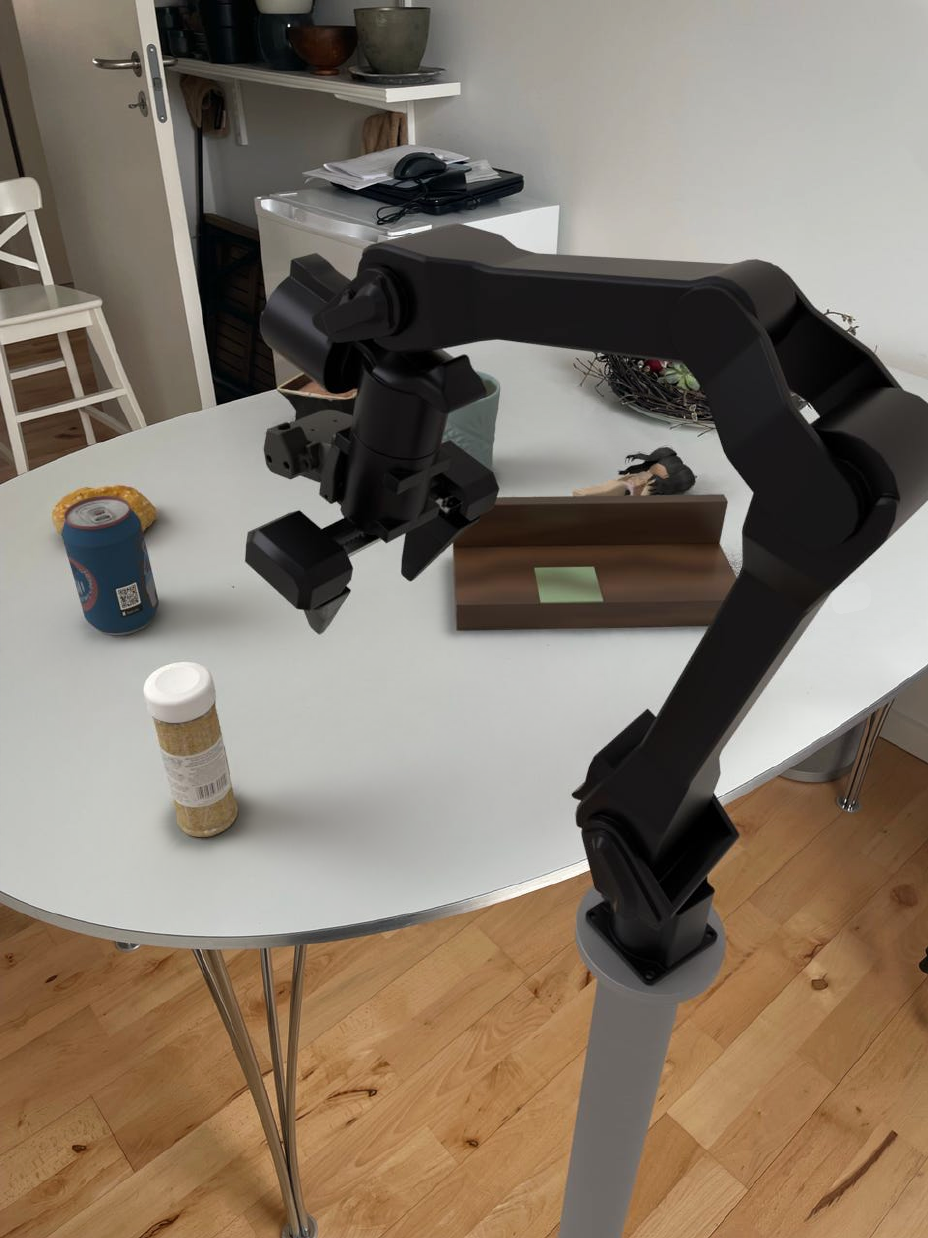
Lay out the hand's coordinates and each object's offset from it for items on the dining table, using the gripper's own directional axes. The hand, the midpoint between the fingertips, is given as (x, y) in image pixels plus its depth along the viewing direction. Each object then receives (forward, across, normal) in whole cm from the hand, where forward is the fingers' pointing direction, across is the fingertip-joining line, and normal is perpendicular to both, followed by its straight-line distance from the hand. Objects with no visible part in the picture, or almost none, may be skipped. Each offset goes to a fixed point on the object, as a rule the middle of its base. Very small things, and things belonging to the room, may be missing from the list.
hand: (363, 602), depth 69 cm
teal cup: (+21, -40, -22) cm, 50 cm away
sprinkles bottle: (+15, +14, +1) cm, 20 cm away
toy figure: (+16, -50, -3) cm, 52 cm away
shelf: (+13, -30, +4) cm, 33 cm away
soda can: (+22, +4, -26) cm, 34 cm away
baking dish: (+27, -43, -43) cm, 66 cm away
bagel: (+27, -4, -42) cm, 50 cm away
